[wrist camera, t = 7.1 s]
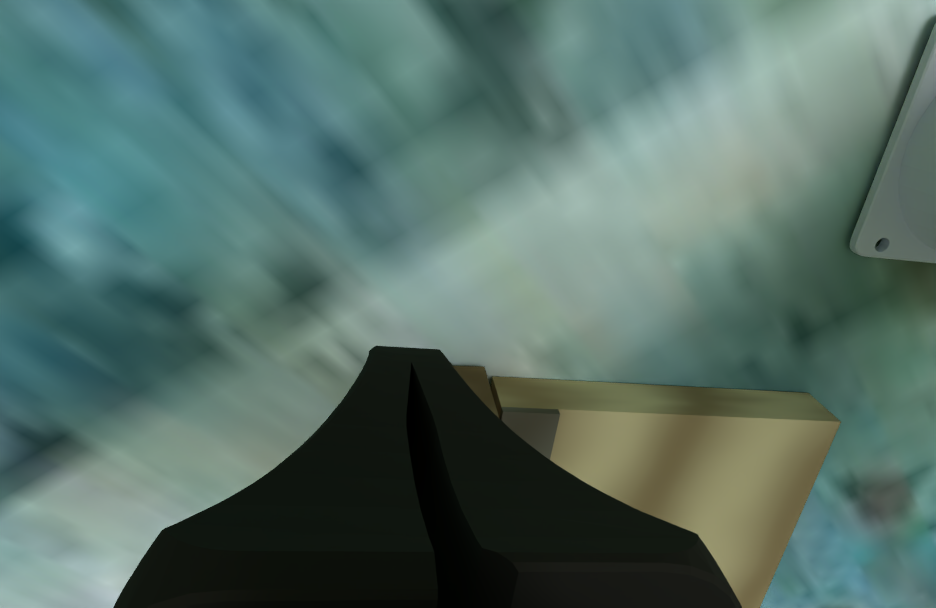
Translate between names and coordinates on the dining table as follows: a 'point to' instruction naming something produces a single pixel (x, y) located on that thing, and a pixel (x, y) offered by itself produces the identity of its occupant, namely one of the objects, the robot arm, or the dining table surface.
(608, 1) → the dining table surface
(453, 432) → the robot arm
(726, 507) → the stool top
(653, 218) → the dining table surface
